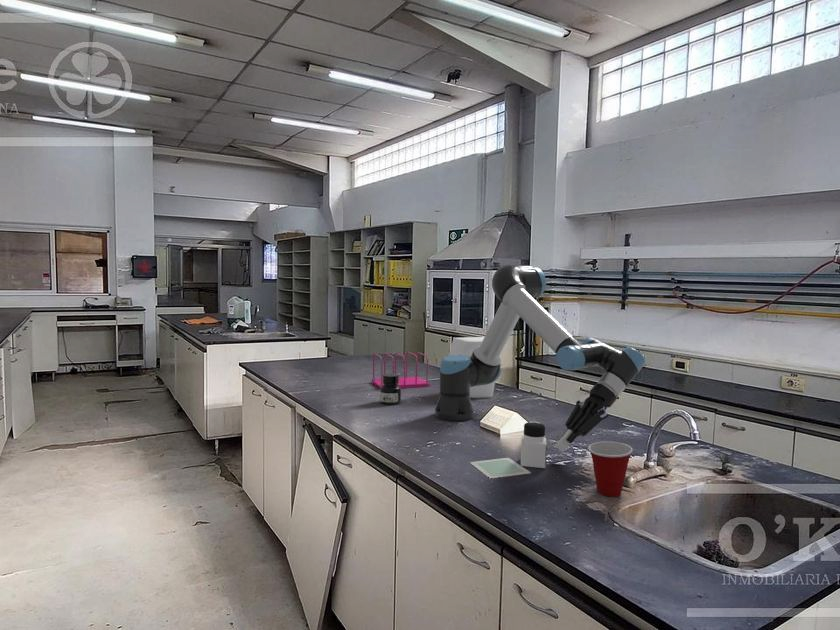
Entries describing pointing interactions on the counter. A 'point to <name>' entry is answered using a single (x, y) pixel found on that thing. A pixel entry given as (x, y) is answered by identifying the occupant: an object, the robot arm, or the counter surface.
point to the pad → (499, 468)
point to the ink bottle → (390, 389)
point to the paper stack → (467, 348)
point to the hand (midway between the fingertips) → (559, 448)
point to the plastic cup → (610, 466)
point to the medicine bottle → (533, 445)
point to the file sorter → (404, 381)
